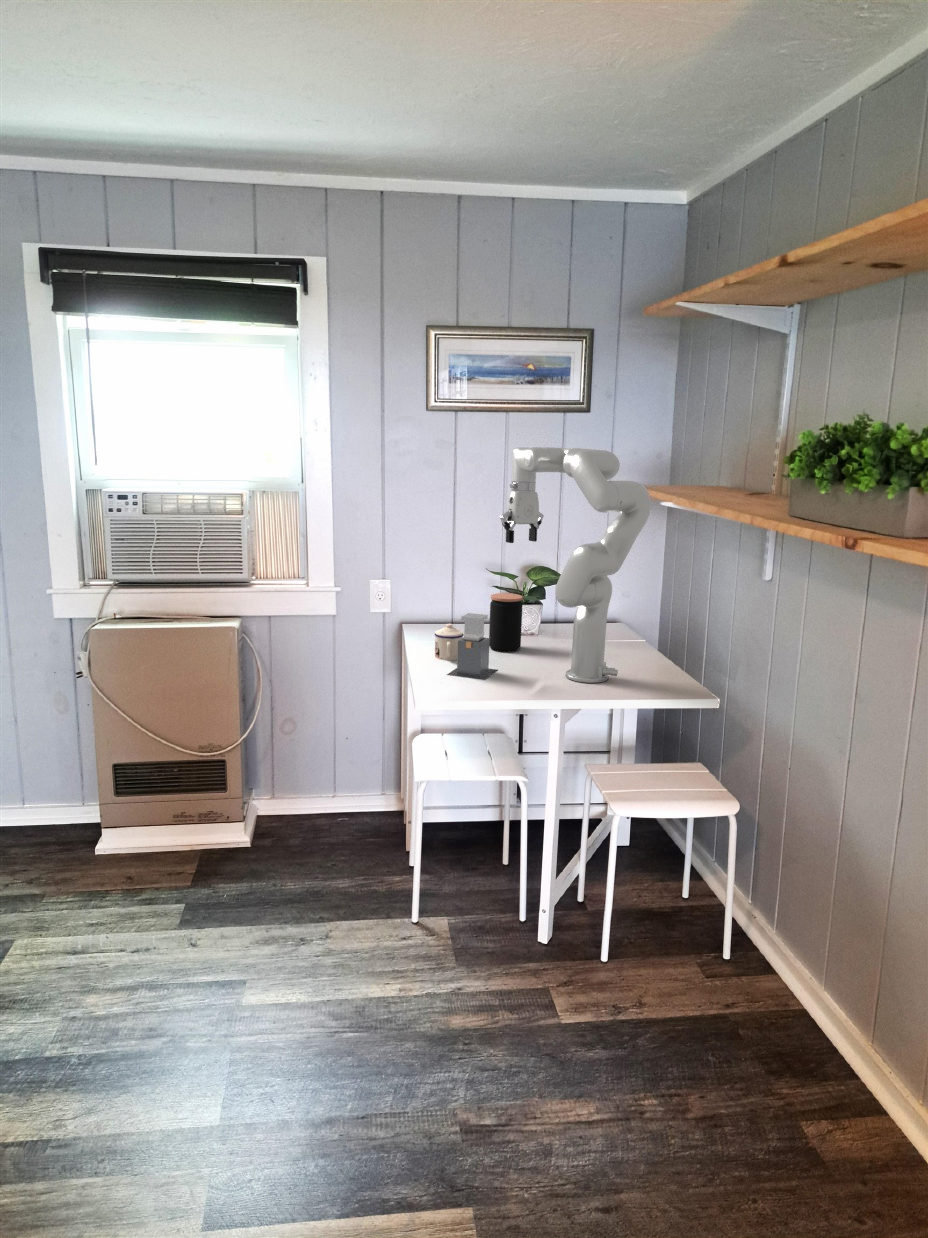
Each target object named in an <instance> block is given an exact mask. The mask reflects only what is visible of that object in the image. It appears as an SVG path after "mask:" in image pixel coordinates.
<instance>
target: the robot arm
mask: <svg viewBox="0 0 928 1238" xmlns="http://www.w3.org/2000/svg"><path fill="white" fill-rule="evenodd" d="M620 464H621V463H620V460H619V458H618V456H617V455H616V454H615V453H614V452H611V451H609V450H603V449H592V448H590V449H589V448H581V447H579V448H578V447H573V448H567V447H552V446H551V447H549V446H548V447H545V446H536V447H535V446H533V447H524V446H523V447H522V446H521V447H520V446H519V447H515V448H514V449H513V451H512V463H511V483H510V484H509V488H510V490H511V491H510V492H509V495H508V502H507V508H506V509H507V510H506V512H504V513H503V514H501V515H500V516H499V518H500V522H501V525H502V526H503V527H504V530H505V543H508V544H514V541H515V530H514V528H515V526H517V525H529V528H528V541H530V542H535V543H536V542H538V541H537V540H538V529H540V526H541V524H542V522H543V518H544V517H545V515H544V514H543V513H542V512H540V505H539V504H540V503H539V495H538V492H537V491H536V486H537V485H536V482H537V473H562V474H566V475H567V476H569V477H570V478H571V479H572V478H573V479H574V481H575V483H576V485H577V486H578V488H579V489H580V491H581V493H582V494H583V496H584V498H585V499H586V500H587V501H588V502H587V503H588V504H589V505H590V506H591V508H593V509H594V510H595V511H597V512H599V513H602V514H603V513H604V514H607V513H619V514H618V515H617V516H616V517H615V518H614V519H613V520H612V521H611V522H610V523H609V524H608V526H607V527H606V529H605V531H604V534H603V535H602V537H601V538H600V540H599V541H597V542H590V543H583V544H581V545H579V546H577V547H576V548H575V549H574V550H573V551H572V552H571V554H570V556H569V558H568V560H567V561H566V564H565V565H564V568H563V570H562V571H561V574H560V575H559V578H558V580H557V583H556V586H555V597H556V600H557V601H558V603H559V604H560V605H561V606H563V607H565V608H568V609H569V608H570V609H571V608H576V610H575V614H574V617H573V628H572V629H573V630H572V645H571V663H570V669H567V670H566V671H565V677H566V678H567V679H569V680H571V681H574V682H578V683H589V684H594V683H595V684H596V683H603V682H606V681H607V680H608V679H609V676H612V677H618V674H619V669H616V668H615V667H608V666H607V662H605V651H606V635H607V622H608V621H607V620H608V613H609V606H610V601H611V598H612V595H613V584H612V581H611V579H610V577H608V576H612V575H615V574H616V573H617V572H619V571H620V570H621V568H622V566H623V564H624V562H625V561H626V559H627V556H628V555H629V553H630V551H631V549H632V548H633V545H634V543H635V542H636V539H637V538H638V537H639V535H640V533H641V532H642V530H643V529H644V527H645V525H646V524H647V522H648V519H649V517H650V513H651V510H652V509H651V507H652V502H651V501H652V500H651V496H650V493H649V491H648V489H647V488H646V486H645V485H643V484H641V483H640V482H638V481H633V480H611V479H613V478H614V477H616V475H617V474H618V472H619V471H620V468H621V467H620V466H621V465H620Z"/></svg>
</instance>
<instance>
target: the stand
mask: <svg viewBox="0 0 928 1238" xmlns="http://www.w3.org/2000/svg"><path fill="white" fill-rule="evenodd" d="M489 640H490V638H489V637H484V639H483V640H482V641H480V642H473V641H465V640H464V636H463V638H462V639H460V640H458V656H457V660H456V661H457V662H456V665H457V666H456V668H454V669H453V670H452V671H450V672H448V673H447V674H446V676H452V677H458V678H459V677H460V678H467V679H474V680H482V681H486V680H487V679H489V678H490V677H491V676H493V675H494V674H495V673H496V672H498V671H499V669H493V668H489V664H490V663H489V662H490V646H489Z"/></svg>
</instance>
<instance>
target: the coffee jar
mask: <svg viewBox="0 0 928 1238" xmlns="http://www.w3.org/2000/svg"><path fill="white" fill-rule="evenodd" d="M490 599H491V601H490V604H489V607H490V608H489V629H488V631H489V633H488V638H490V640H489V649H490V650H492V651H494V652H498V653H513V652H517V651H519V650H520V648H521V647H522V625H523V624H522V623H523V602H522V600H524V599H523V595H521V594H518V593H517V594H516V593H510V592H509V593H508V592H501V593H500V592H499V593H493V594H491V595H490Z"/></svg>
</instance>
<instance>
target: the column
mask: <svg viewBox="0 0 928 1238" xmlns="http://www.w3.org/2000/svg"><path fill="white" fill-rule="evenodd" d="M488 618H489V615H488V614H482V613H472V612H469V613H466V614H464V615H462V616H461V617H460V621H464V631H463V634H464V635H463V637H464V640H465V641H473V642H480V641H482V640H483V639H484V638H485V637H484V636H485V621H486V620H488Z"/></svg>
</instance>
